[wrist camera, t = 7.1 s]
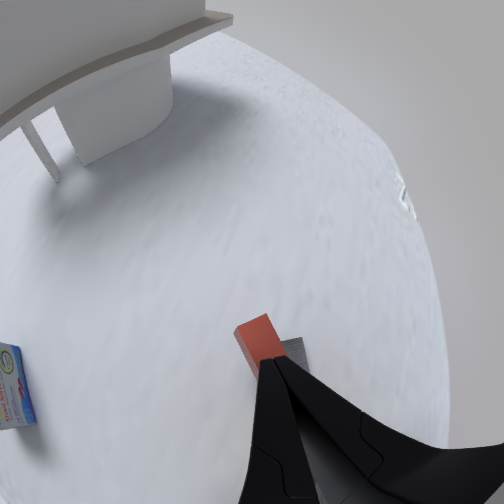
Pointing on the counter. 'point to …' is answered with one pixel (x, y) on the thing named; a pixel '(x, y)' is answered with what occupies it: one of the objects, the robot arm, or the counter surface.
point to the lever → (262, 352)
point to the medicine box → (13, 390)
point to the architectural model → (94, 67)
